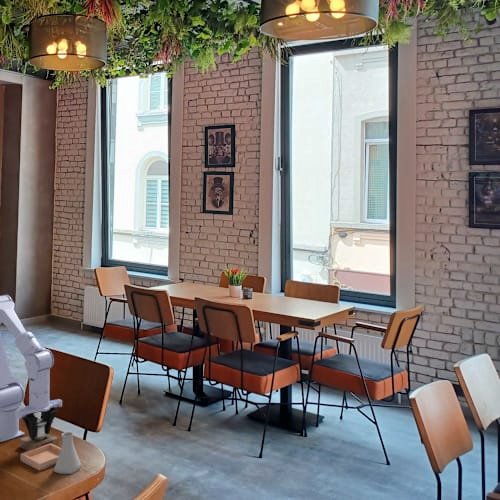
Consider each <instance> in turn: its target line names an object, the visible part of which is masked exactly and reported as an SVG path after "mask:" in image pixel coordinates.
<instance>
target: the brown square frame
mask: <svg viewBox="0 0 500 500" xmlns="http://www.w3.org/2000/svg"><path fill="white" fill-rule="evenodd" d="M59 441H60V439H59V437H58V436H56V435H53V434H51V433H49V434H45V440H42V441H39V442H36V441H34V439H32V438H30V437H29V435H28V436H24V437H21V438H19V448H20V449H23V450H24V451H26V452H27V451H30V450H33V449H36V448H39V447H42V446H45V445H47V444H50V443H51V444H53V445H56V446H58V447H60V442H59Z"/></svg>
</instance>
